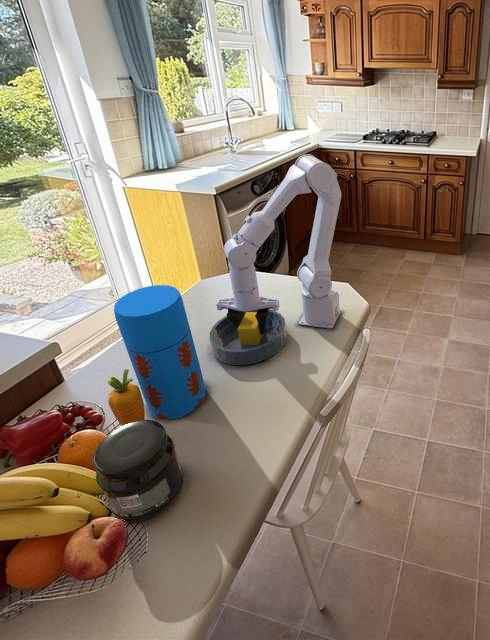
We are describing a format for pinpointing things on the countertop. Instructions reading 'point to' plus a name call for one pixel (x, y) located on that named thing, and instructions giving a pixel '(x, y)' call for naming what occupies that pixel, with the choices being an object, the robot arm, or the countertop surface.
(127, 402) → the carrot
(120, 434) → the supplement container
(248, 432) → the countertop surface
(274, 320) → the bowl
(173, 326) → the thermos
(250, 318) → the sponge
